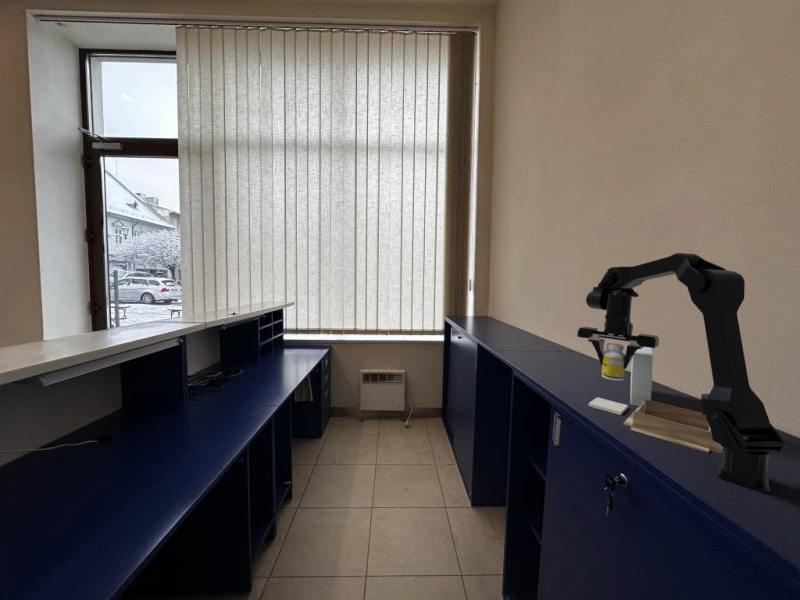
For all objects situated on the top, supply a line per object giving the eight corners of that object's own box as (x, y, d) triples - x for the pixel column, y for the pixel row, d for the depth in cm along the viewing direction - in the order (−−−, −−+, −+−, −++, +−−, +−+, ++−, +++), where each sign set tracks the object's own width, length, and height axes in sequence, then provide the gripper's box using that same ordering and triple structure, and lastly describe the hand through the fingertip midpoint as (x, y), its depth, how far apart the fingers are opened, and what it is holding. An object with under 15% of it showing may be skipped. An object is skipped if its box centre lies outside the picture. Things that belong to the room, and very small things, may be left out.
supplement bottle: (601, 374, 98) (603, 341, 97) (622, 377, 95) (625, 344, 95) (601, 378, 93) (604, 344, 93) (624, 382, 91) (627, 347, 90)
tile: (620, 415, 90) (620, 412, 89) (588, 405, 95) (588, 403, 95) (627, 407, 95) (628, 405, 95) (596, 399, 101) (597, 397, 101)
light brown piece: (721, 457, 69) (723, 438, 69) (620, 426, 82) (622, 411, 82) (724, 432, 81) (726, 416, 81) (636, 409, 94) (638, 395, 94)
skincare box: (629, 387, 116) (633, 342, 115) (648, 390, 112) (653, 344, 111) (628, 404, 98) (632, 351, 97) (650, 409, 95) (655, 354, 94)
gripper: (664, 314, 92) (659, 369, 93) (590, 308, 105) (586, 356, 106) (657, 316, 84) (651, 376, 85) (578, 309, 98) (574, 360, 99)
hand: (613, 366), depth 94 cm, fingers closed on supplement bottle, 5 cm apart
